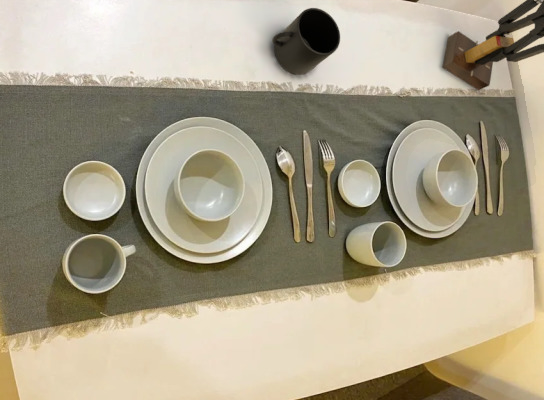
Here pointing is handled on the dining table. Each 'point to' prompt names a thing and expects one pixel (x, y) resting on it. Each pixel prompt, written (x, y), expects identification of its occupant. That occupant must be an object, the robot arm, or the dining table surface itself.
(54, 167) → the dining table surface
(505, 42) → the lock knob
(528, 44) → the robot arm
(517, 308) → the dining table surface
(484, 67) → the plate
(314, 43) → the mug
